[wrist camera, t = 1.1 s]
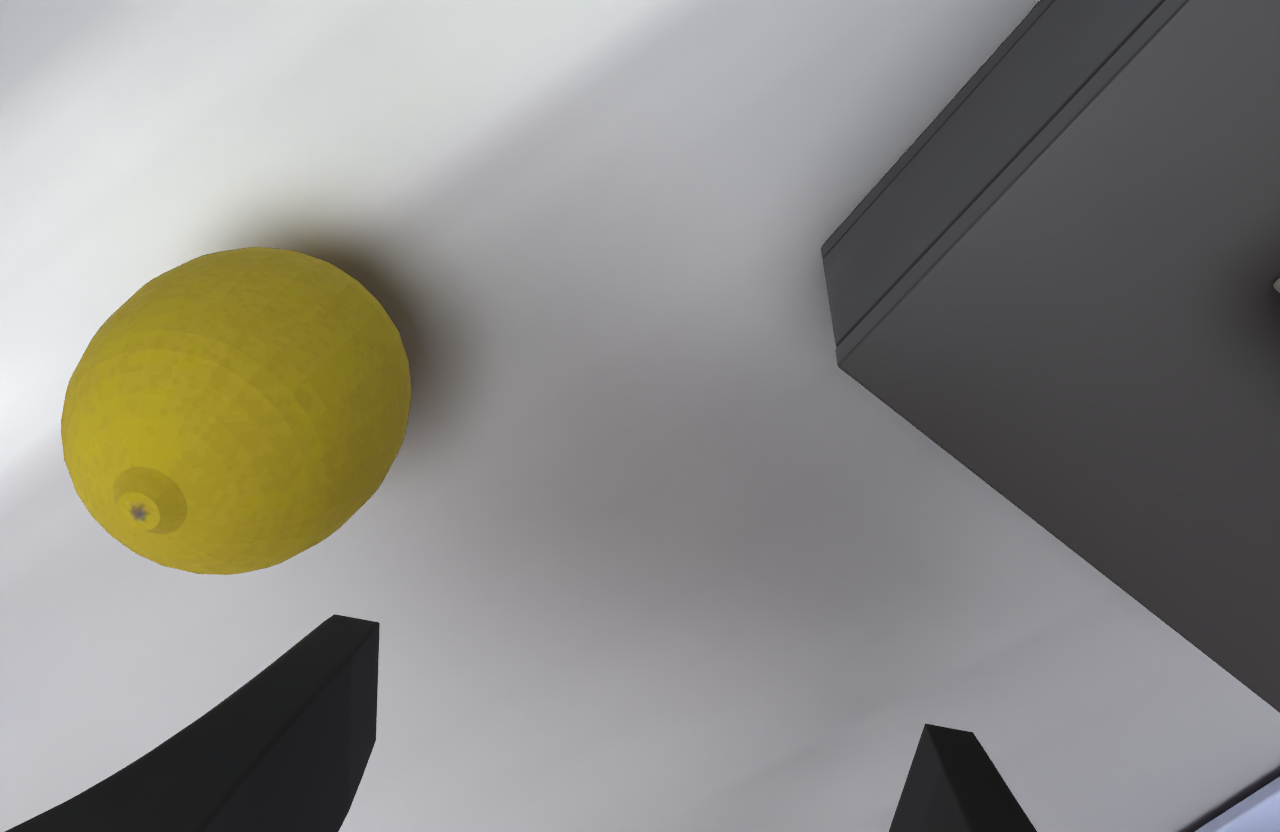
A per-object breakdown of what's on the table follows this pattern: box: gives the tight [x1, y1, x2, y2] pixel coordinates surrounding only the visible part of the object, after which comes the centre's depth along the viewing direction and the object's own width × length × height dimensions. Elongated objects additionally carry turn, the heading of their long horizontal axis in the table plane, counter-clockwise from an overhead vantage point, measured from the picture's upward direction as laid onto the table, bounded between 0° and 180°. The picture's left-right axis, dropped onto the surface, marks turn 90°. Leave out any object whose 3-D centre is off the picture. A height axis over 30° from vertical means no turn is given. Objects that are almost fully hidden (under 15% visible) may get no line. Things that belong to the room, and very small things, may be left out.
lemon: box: [61, 247, 412, 575], centre depth 19 cm, size 6×6×8 cm
